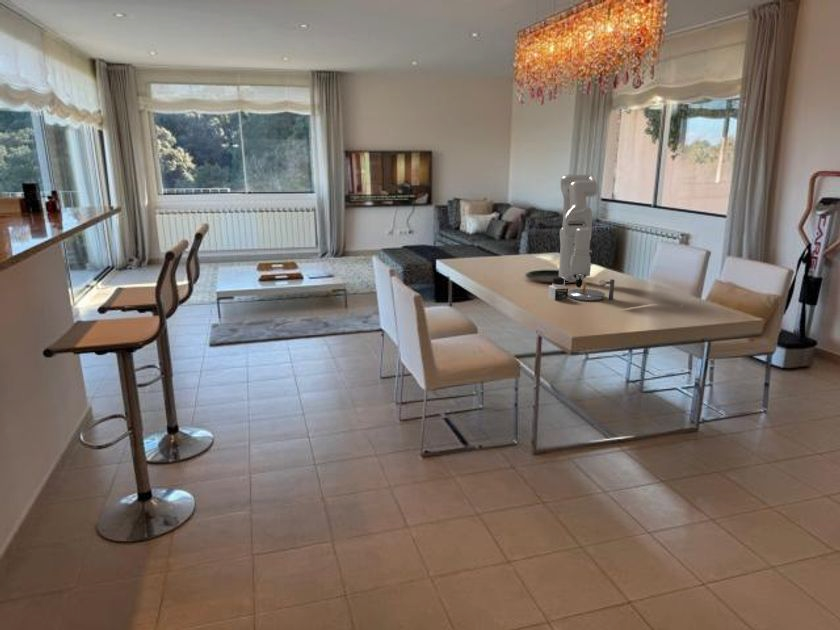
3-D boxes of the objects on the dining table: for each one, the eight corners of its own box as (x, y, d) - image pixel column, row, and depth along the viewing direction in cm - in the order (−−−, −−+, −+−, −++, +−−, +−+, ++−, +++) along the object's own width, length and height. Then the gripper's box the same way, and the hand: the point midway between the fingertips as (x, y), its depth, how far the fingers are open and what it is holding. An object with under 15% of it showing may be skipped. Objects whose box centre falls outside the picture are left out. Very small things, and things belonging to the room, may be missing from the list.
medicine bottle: (554, 302, 287) (556, 279, 284) (548, 298, 294) (549, 276, 290) (567, 301, 289) (569, 278, 286) (560, 297, 296) (562, 275, 292)
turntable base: (562, 294, 302) (562, 292, 302) (598, 293, 303) (598, 292, 302) (572, 303, 284) (572, 301, 284) (610, 303, 284) (610, 301, 284)
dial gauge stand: (596, 300, 291) (598, 278, 287) (613, 300, 291) (615, 278, 287) (598, 302, 287) (600, 280, 284) (615, 302, 287) (617, 280, 284)
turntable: (608, 301, 284) (609, 289, 282) (571, 301, 285) (572, 289, 283) (599, 292, 301) (600, 281, 299) (565, 292, 302) (565, 281, 301)
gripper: (594, 250, 297) (591, 285, 303) (565, 250, 298) (562, 285, 303) (597, 253, 290) (594, 288, 295) (568, 253, 290) (565, 288, 296)
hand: (578, 286), depth 299 cm, fingers closed
